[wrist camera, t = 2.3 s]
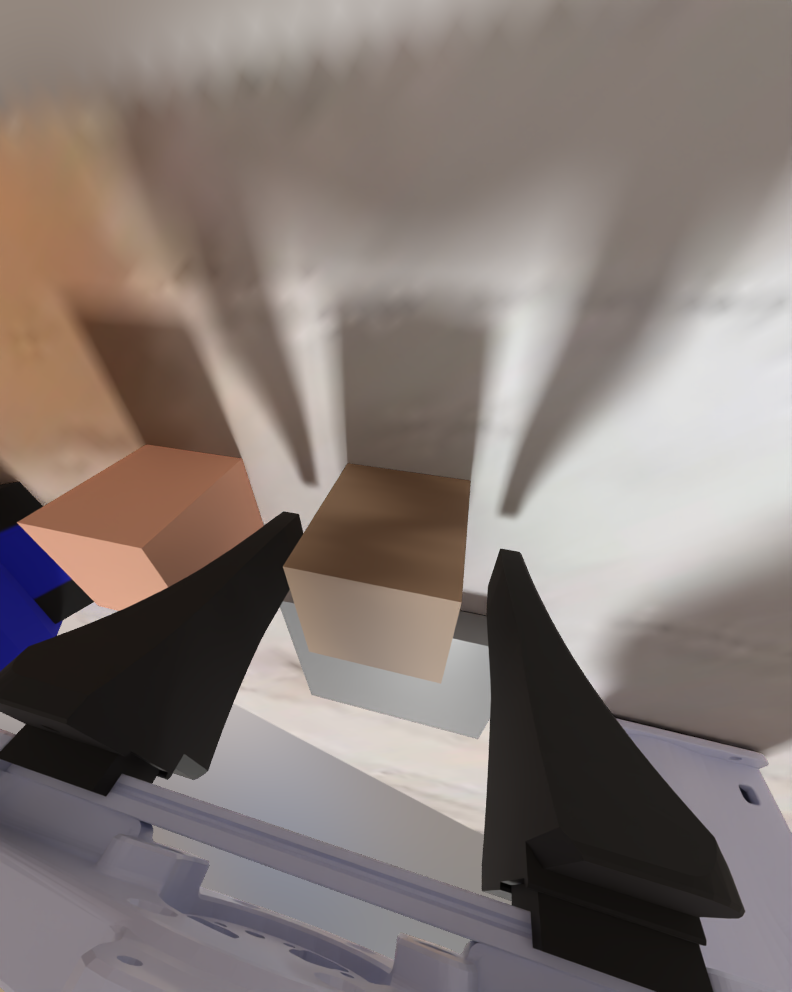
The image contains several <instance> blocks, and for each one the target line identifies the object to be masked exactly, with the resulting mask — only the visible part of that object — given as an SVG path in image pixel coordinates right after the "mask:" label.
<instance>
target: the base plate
mask: <svg viewBox="0 0 792 992" xmlns="http://www.w3.org/2000/svg"><path fill="white" fill-rule="evenodd" d="M280 608H281V611H282V614H283V616H284V619H285V622H286V625H287V628H288V630H289V633H290V636H291V639H292V641H293V644H294V647H295V650H296V653H297V655H298V658H299V661H300V664H301V666H302V669H303V672H304V675H305V678H306V680H307V683H308V686H309V689H310V691H311V694H312V695H314V696H318V697H322V698H325V699H329V700H333V701H337V702H340V703H344V704H348V705H352V706H355V707H359V708H363V709H367V710H370V711H374V712H378V713H382V714H385V715H389V716H393V717H397V718H400V719H404V720H408V721H412V722H415V723H419V724H423V725H427V726H430V727H434V728H438V729H442V730H445V731H449V732H453V733H457V734H460V735H464V736H468V737H472V738H475V739H478V738H479V737H480V735H481V733H482V731H483V730H484V728H485V726H486V724H487V723H488V721H489V719H490V706H491V684H490V666H489V649H488V633H487V616H483V615H478V614H473V613H468V612H463V611H459V615H458V619H457V623H456V627H455V631H454V635H453V639H452V643H451V647H450V651H449V655H448V658H447V662H446V666H445V670H444V674H443V678H442V682H441V684H440V683H436V682H432V681H428V680H424V679H420V678H416V677H412V676H407V675H403V674H399V673H395V672H391V671H387V670H383V669H379V668H375V667H370V666H366V665H362V664H358V663H354V662H350V661H346V660H342V659H337V658H333V657H329V656H325V655H321V654H317V653H313V652H309V649H308V646H307V643H306V640H305V636H304V633H303V630H302V627H301V623H300V620H299V617H298V614H297V611H296V607H295V604H294V601H293V598H292V594H291V591H290V590H289V592H288V593H287V595H286V597H285V599H284V600H283V602H282V604H281V606H280Z"/></svg>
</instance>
